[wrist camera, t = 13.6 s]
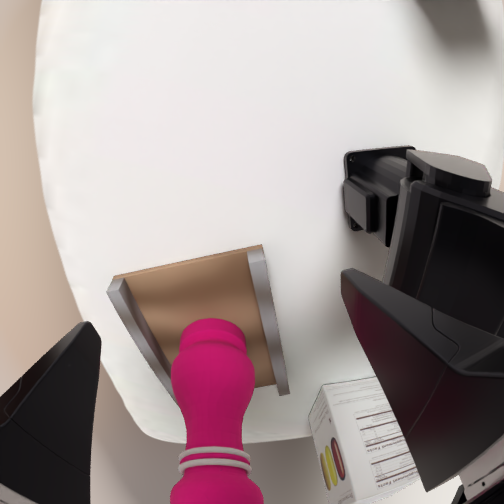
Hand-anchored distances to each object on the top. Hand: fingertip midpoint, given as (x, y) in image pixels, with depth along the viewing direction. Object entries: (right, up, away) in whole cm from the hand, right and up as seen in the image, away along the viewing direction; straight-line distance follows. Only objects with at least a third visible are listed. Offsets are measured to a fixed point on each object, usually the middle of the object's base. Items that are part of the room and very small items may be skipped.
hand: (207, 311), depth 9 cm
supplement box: (+14, -19, +27) cm, 36 cm away
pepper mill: (-2, -7, +18) cm, 19 cm away
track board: (-3, -7, +18) cm, 20 cm away
